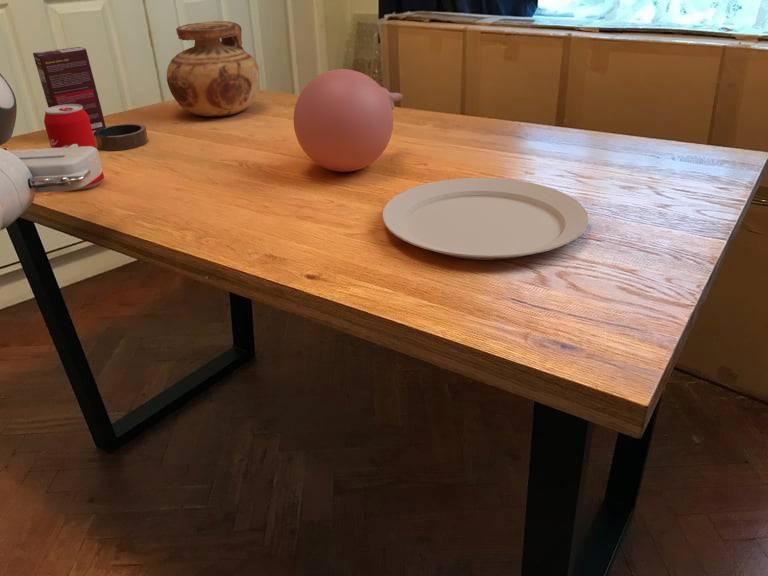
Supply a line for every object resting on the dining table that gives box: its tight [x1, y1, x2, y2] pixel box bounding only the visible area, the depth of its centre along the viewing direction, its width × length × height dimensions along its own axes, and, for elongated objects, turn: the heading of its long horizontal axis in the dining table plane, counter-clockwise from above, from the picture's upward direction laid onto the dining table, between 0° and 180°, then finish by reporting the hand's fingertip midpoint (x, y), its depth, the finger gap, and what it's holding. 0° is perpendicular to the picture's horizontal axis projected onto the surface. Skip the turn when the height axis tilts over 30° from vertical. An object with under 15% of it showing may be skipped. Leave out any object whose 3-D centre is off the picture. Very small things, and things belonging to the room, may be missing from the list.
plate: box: [382, 177, 590, 261], centre depth 84 cm, size 26×26×2 cm
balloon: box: [293, 68, 404, 173], centre depth 103 cm, size 15×20×15 cm
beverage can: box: [43, 104, 105, 191], centre depth 101 cm, size 6×6×12 cm
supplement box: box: [32, 46, 107, 134], centre depth 126 cm, size 9×5×16 cm, turn 130°
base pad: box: [93, 123, 149, 152], centre depth 123 cm, size 9×9×2 cm
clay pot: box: [166, 20, 261, 118], centre depth 138 cm, size 19×19×20 cm
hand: (38, 151), depth 89 cm, fingers open, 8 cm apart
